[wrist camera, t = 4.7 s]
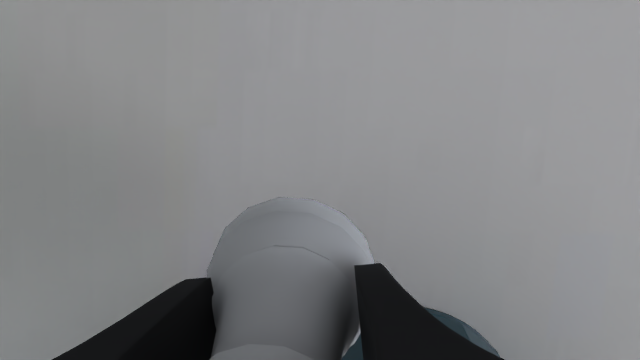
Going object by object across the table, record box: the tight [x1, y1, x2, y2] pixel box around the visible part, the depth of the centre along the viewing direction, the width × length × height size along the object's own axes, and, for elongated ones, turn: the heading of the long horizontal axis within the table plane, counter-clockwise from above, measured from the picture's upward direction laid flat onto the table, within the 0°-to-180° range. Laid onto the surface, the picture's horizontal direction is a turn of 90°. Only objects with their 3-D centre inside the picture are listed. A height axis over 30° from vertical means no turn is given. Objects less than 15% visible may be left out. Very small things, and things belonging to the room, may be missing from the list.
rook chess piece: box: [207, 197, 375, 360], centre depth 9 cm, size 4×4×8 cm
